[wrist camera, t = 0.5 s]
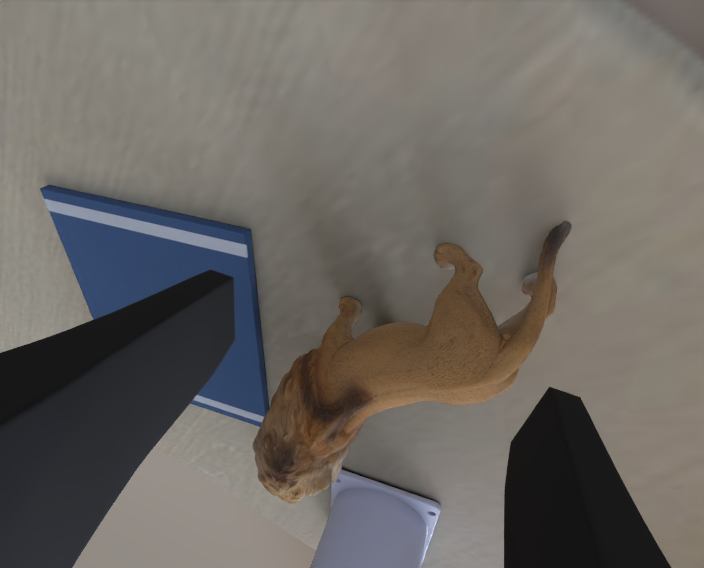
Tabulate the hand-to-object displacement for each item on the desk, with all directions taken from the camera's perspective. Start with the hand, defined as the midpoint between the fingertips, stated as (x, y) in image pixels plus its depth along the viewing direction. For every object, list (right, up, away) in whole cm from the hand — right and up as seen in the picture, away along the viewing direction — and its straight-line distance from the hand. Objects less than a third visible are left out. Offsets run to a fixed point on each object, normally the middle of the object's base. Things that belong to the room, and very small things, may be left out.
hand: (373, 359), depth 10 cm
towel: (-12, 0, +18) cm, 22 cm away
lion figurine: (+3, +1, +11) cm, 12 cm away
